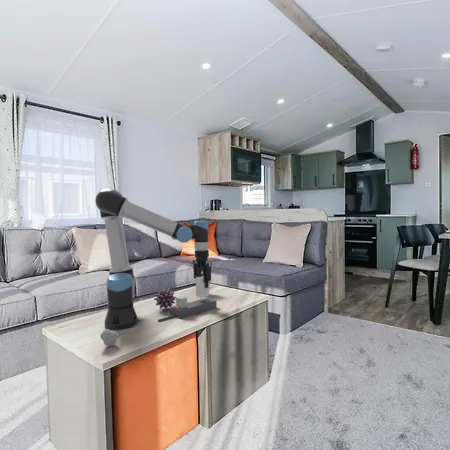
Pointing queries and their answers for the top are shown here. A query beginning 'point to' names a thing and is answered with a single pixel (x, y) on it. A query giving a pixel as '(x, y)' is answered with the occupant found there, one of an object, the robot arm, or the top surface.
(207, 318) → the top surface
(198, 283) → the white rectangular block
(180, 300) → the block
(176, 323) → the top surface
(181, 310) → the power strip
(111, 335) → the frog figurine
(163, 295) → the flower
